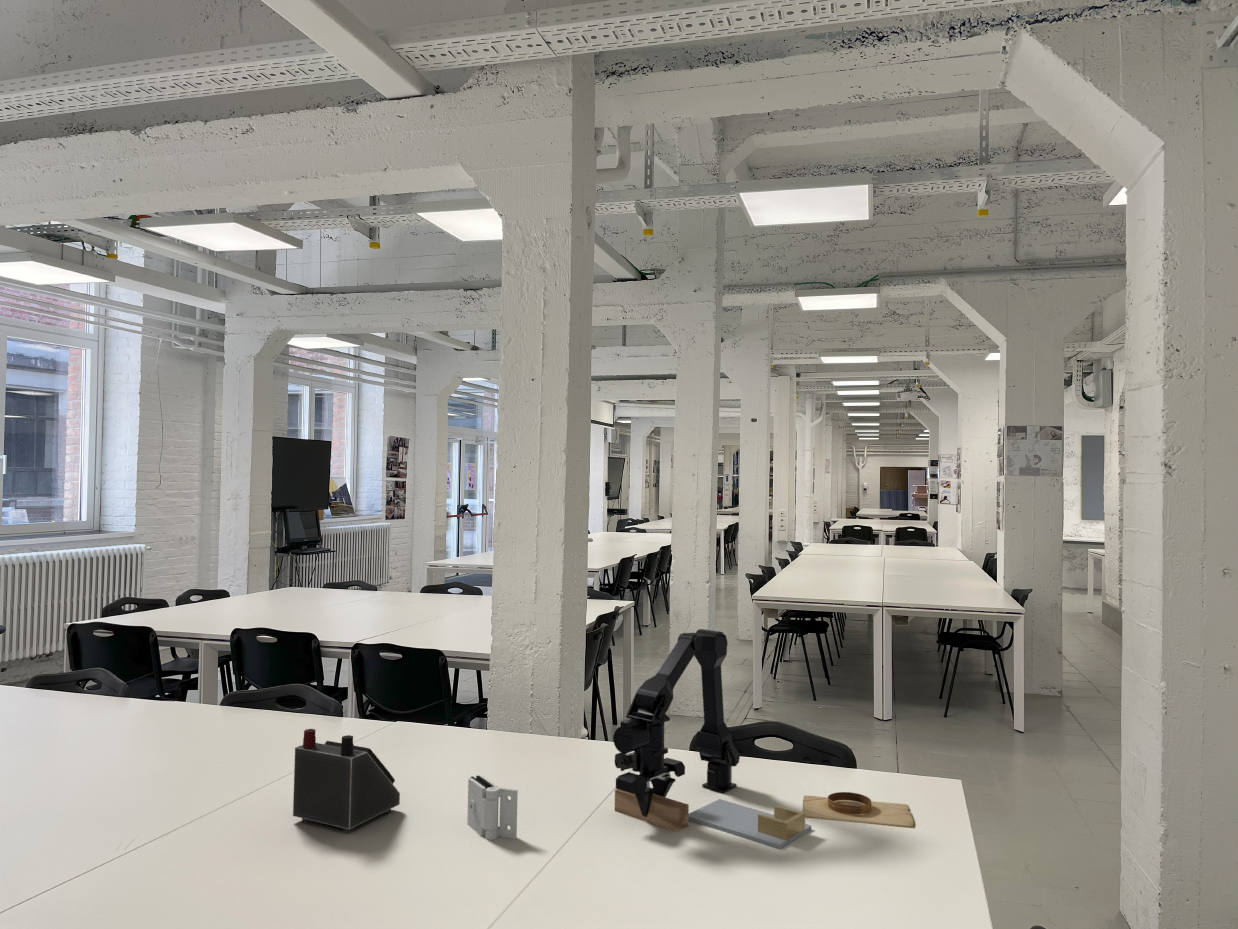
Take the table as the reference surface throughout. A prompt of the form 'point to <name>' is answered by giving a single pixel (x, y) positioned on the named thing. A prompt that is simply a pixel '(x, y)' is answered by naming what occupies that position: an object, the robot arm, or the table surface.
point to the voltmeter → (340, 783)
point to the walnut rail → (654, 810)
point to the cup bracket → (782, 823)
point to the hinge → (491, 808)
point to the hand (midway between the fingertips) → (650, 813)
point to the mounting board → (738, 822)
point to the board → (857, 810)
